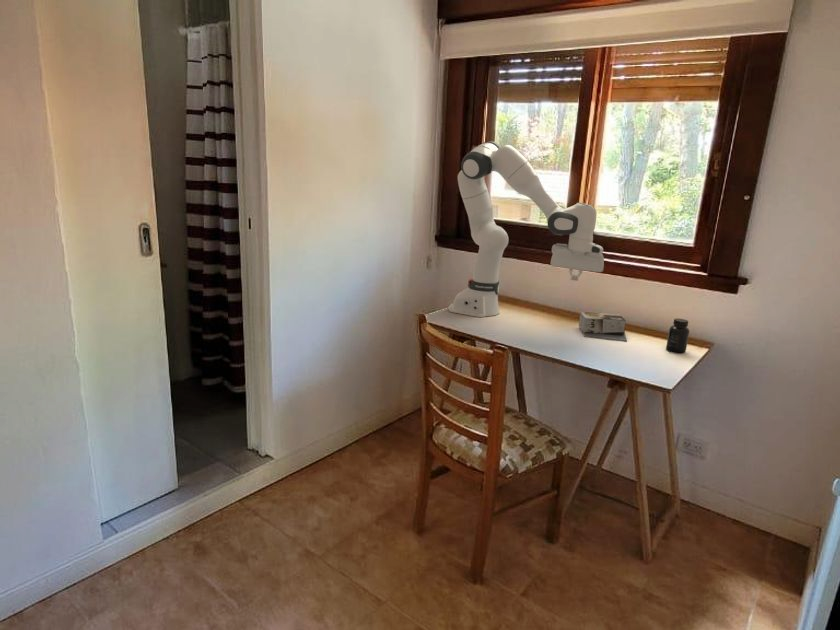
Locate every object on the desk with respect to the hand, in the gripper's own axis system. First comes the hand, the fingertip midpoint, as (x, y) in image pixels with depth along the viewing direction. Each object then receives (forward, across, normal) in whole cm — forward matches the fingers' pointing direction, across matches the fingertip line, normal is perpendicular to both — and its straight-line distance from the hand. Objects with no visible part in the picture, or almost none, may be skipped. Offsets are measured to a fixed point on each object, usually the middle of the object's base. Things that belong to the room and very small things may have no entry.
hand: (574, 280), depth 218 cm
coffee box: (+17, +5, +1) cm, 18 cm away
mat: (+20, +15, 0) cm, 25 cm away
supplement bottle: (+20, +40, -10) cm, 46 cm away
